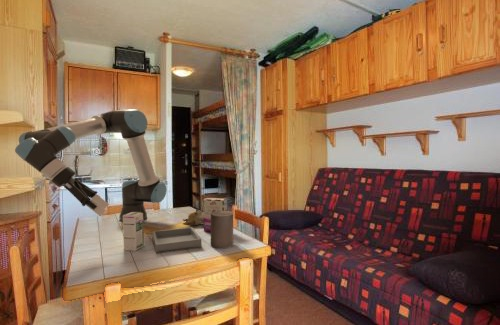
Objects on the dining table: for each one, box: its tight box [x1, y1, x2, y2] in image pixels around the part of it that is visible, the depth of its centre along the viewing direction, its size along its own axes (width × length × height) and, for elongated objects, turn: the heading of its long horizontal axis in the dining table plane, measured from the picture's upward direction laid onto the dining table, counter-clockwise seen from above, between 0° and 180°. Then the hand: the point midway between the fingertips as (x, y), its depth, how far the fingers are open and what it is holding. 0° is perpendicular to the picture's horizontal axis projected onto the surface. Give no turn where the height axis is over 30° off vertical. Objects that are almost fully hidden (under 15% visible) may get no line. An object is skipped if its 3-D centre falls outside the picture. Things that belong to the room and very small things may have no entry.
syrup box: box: [122, 212, 145, 252], centre depth 115 cm, size 6×6×14 cm
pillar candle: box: [210, 210, 234, 249], centre depth 120 cm, size 10×10×15 cm
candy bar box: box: [203, 197, 228, 233], centre depth 140 cm, size 11×5×16 cm, turn 71°
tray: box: [152, 226, 202, 254], centre depth 122 cm, size 20×18×4 cm
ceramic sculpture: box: [182, 209, 204, 227], centre depth 153 cm, size 11×9×15 cm
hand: (105, 210), depth 111 cm, fingers open, 13 cm apart
